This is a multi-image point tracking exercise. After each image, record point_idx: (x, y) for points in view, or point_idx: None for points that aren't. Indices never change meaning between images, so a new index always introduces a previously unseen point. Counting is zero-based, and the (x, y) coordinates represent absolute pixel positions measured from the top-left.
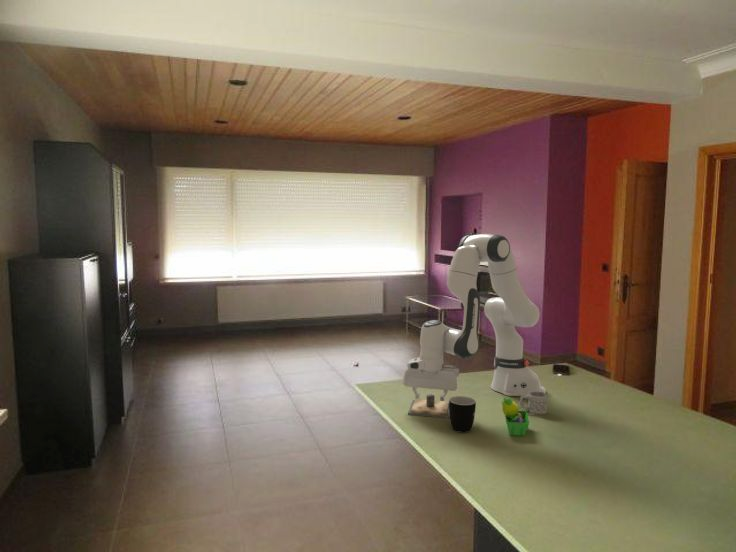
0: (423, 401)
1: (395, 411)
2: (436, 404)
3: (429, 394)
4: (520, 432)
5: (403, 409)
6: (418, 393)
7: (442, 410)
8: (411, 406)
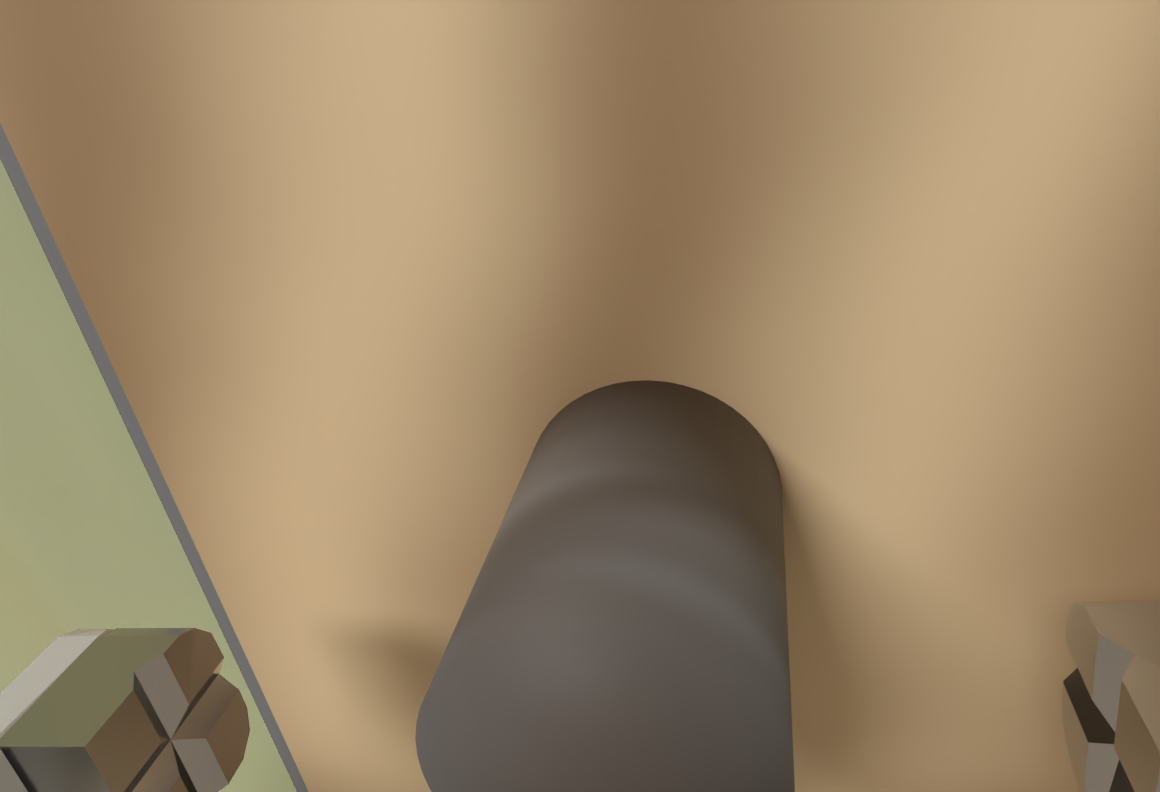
0: (307, 173)
1: None
2: (827, 300)
3: (493, 647)
4: None
5: (122, 612)
6: (63, 778)
7: None
8: None
